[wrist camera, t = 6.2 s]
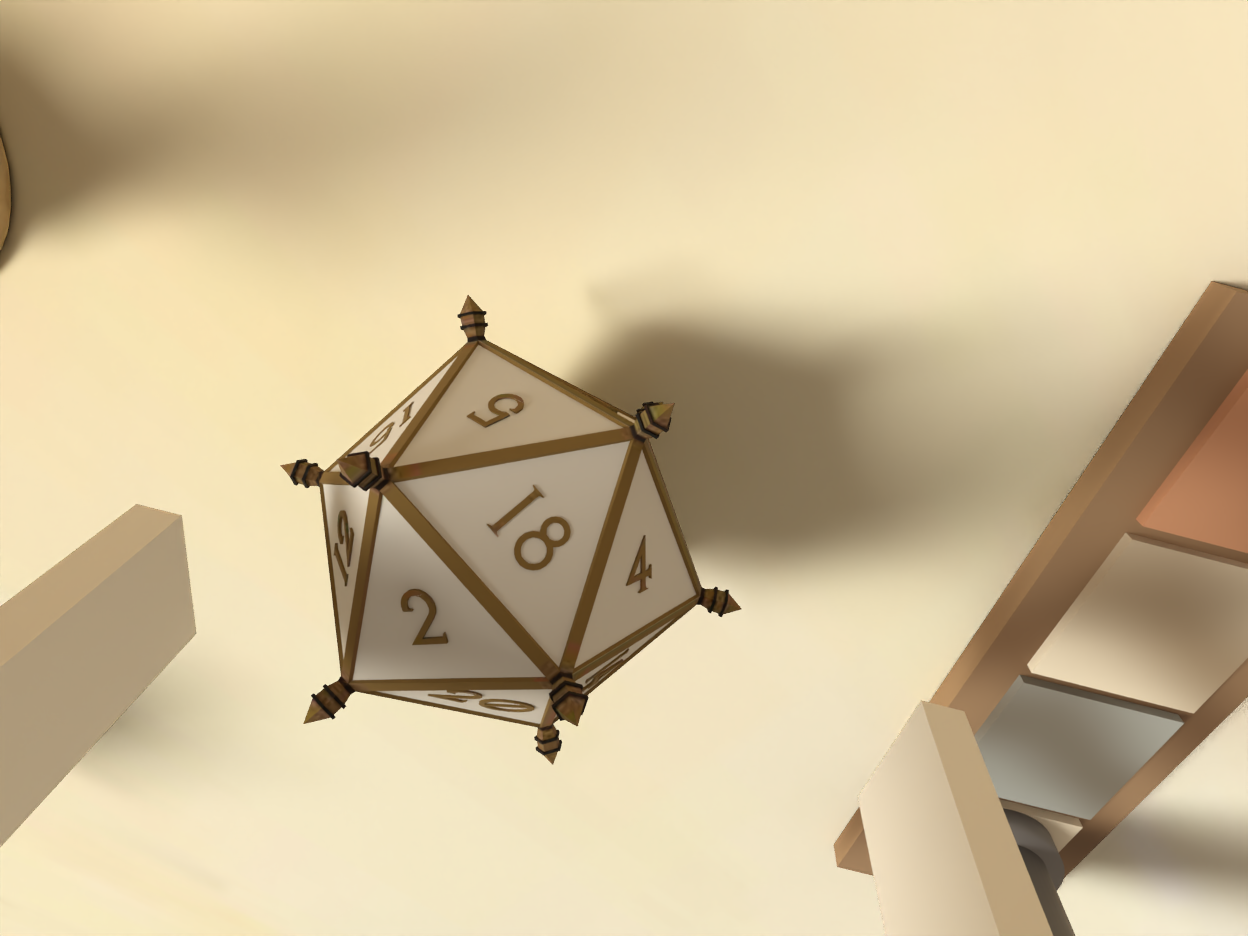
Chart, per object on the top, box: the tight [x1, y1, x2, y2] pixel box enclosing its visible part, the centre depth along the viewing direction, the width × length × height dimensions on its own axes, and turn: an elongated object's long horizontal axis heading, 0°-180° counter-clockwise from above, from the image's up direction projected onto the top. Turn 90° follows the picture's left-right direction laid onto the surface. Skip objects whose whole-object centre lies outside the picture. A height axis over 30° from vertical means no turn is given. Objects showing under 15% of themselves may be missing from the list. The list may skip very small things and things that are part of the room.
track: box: [834, 281, 1248, 877], centre depth 19 cm, size 21×7×1 cm, turn 167°
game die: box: [280, 295, 741, 765], centre depth 14 cm, size 9×8×10 cm
